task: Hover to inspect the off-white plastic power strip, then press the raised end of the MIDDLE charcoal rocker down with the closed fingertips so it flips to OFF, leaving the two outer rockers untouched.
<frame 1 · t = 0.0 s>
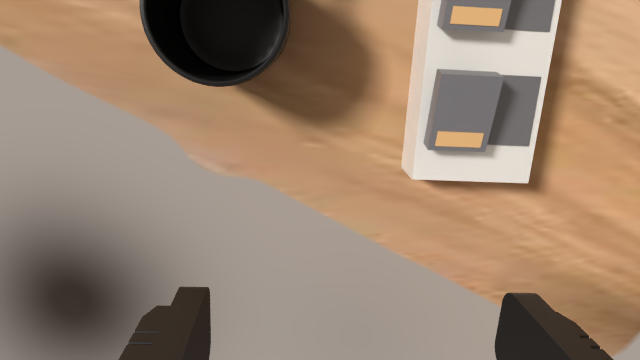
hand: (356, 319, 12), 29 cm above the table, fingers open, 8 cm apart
rocker 3: (461, 111, 35), point 6 cm above the table, hinge at 12.0°
mug: (242, 6, 37), on the table
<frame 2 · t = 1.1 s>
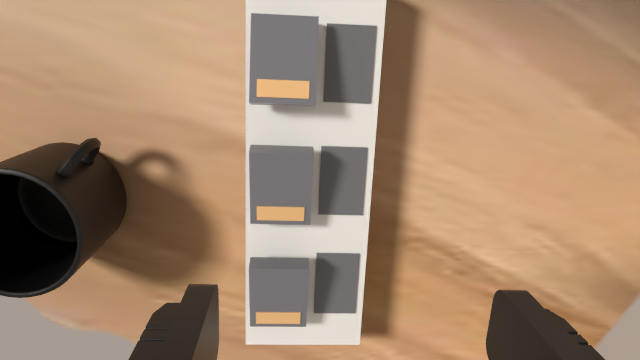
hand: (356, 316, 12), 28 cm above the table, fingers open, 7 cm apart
rocker 3: (278, 293, 37), point 6 cm above the table, hinge at 12.0°
power strip: (307, 167, 40), on the table
rocker 1: (283, 61, 32), point 6 cm above the table, hinge at -12.0°
rocker 2: (281, 186, 34), point 6 cm above the table, hinge at 12.0°
mug: (80, 183, 39), on the table
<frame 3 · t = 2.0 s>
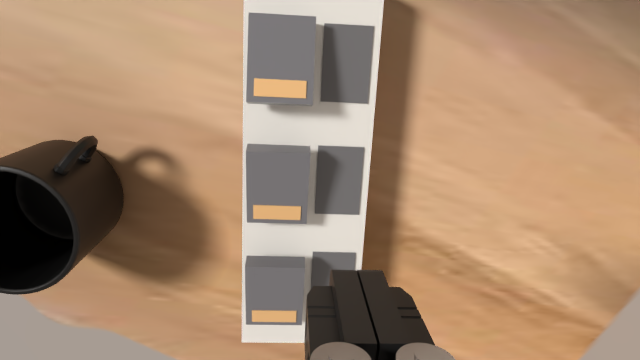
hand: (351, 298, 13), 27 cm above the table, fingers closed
rocker 3: (274, 291, 37), point 6 cm above the table, hinge at 12.0°
power strip: (304, 166, 40), on the table
rocker 1: (281, 60, 32), point 6 cm above the table, hinge at -12.0°
rocker 2: (277, 185, 35), point 6 cm above the table, hinge at 12.0°
mug: (78, 180, 39), on the table
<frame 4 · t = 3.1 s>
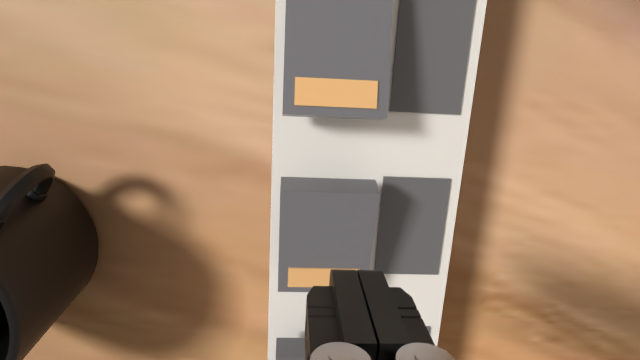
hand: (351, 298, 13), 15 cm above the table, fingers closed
power strip: (354, 201, 28), on the table
rocker 1: (336, 49, 20), point 6 cm above the table, hinge at -12.0°
rocker 2: (325, 237, 23), point 6 cm above the table, hinge at 12.0°
mug: (33, 221, 28), on the table
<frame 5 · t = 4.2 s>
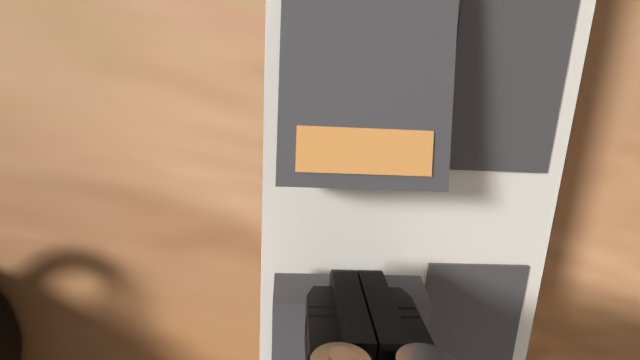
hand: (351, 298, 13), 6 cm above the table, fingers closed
power strip: (378, 280, 21), on the table
rocker 1: (363, 78, 13), point 6 cm above the table, hinge at -12.0°
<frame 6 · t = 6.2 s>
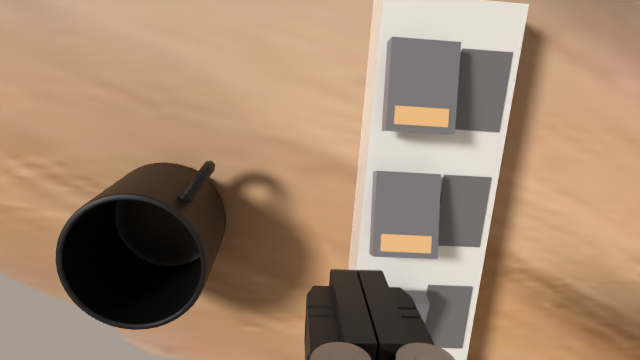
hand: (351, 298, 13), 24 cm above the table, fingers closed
rocker 3: (390, 327, 35), point 6 cm above the table, hinge at 12.0°
power strip: (414, 194, 38), on the table
rocker 1: (420, 87, 30), point 6 cm above the table, hinge at -12.0°
rocker 2: (404, 214, 33), point 6 cm above the table, hinge at -17.0°
mug: (178, 204, 38), on the table
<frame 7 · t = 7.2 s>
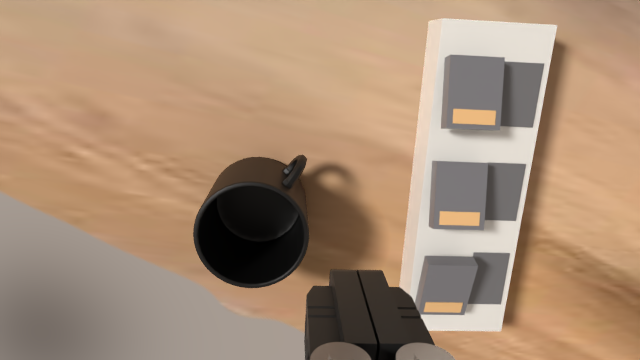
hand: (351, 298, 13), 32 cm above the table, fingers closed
rocker 3: (445, 286, 43), point 6 cm above the table, hinge at 12.0°
power strip: (459, 179, 47), on the table
rocker 1: (472, 93, 39), point 6 cm above the table, hinge at -12.0°
rocker 2: (458, 195, 41), point 6 cm above the table, hinge at -12.1°
mug: (266, 191, 46), on the table
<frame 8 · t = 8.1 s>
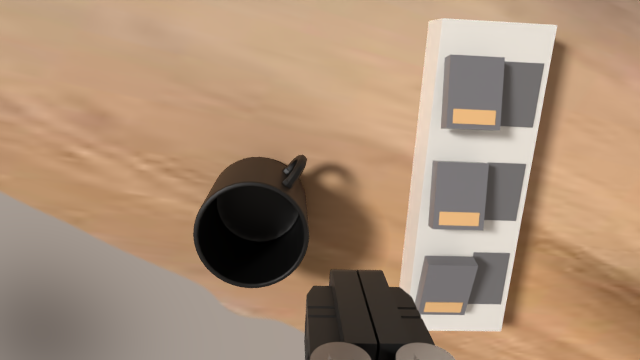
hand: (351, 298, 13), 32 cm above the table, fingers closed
rocker 3: (445, 286, 43), point 6 cm above the table, hinge at 12.0°
power strip: (459, 179, 47), on the table
rocker 1: (472, 93, 39), point 6 cm above the table, hinge at -12.0°
rocker 2: (458, 195, 41), point 6 cm above the table, hinge at -9.2°
mug: (266, 191, 46), on the table
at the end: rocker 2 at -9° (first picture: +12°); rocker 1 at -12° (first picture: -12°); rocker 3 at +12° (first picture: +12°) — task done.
